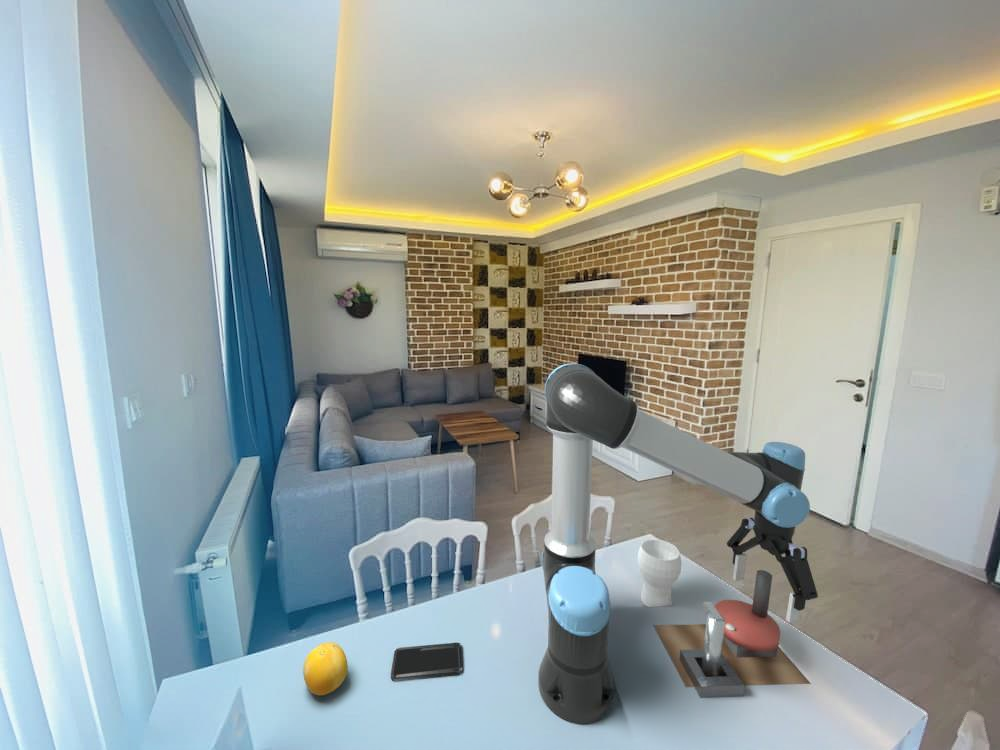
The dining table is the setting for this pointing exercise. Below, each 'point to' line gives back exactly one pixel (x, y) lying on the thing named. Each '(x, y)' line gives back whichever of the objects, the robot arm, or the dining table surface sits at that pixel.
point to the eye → (711, 686)
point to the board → (731, 657)
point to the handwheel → (751, 618)
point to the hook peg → (712, 641)
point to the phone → (427, 662)
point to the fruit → (325, 668)
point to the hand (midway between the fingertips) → (763, 598)
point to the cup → (658, 571)
